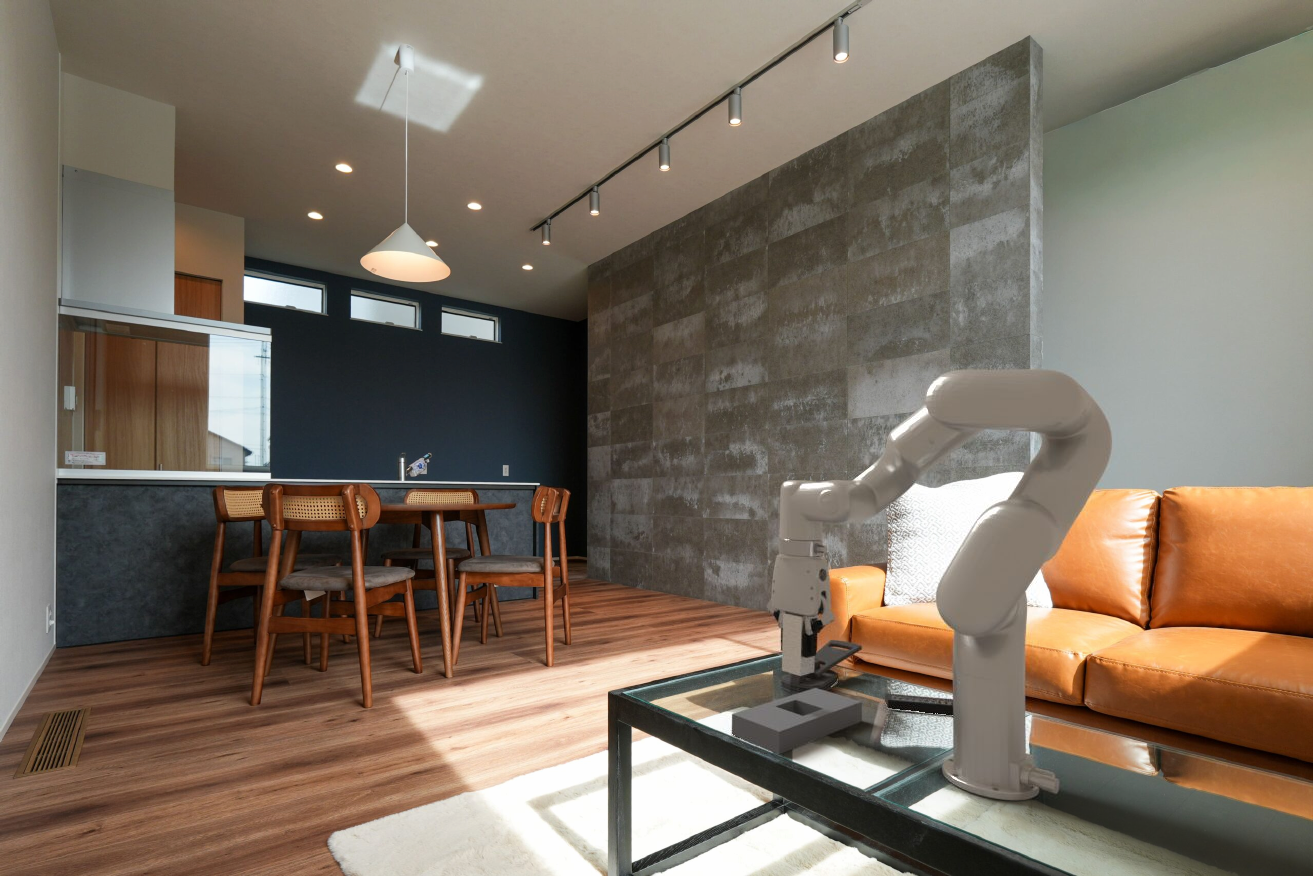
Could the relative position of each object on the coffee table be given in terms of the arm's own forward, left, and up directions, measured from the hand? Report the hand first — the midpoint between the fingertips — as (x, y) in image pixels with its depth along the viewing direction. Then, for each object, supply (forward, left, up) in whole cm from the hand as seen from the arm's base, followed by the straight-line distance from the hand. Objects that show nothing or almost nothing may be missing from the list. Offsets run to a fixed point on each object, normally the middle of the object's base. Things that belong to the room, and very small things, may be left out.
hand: (798, 652), depth 115 cm
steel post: (0, 0, -3) cm, 3 cm away
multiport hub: (-9, -28, -14) cm, 32 cm away
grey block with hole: (0, 0, -13) cm, 13 cm away
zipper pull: (+14, -28, -13) cm, 34 cm away
